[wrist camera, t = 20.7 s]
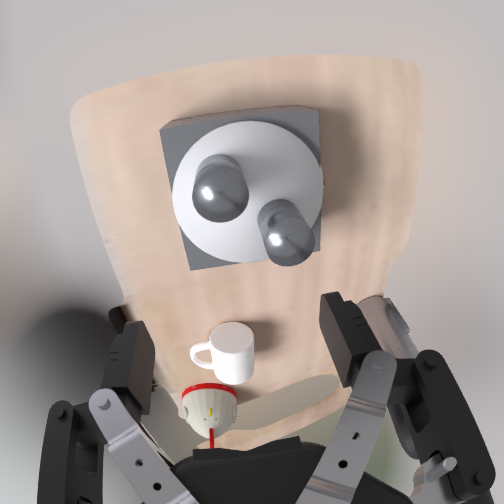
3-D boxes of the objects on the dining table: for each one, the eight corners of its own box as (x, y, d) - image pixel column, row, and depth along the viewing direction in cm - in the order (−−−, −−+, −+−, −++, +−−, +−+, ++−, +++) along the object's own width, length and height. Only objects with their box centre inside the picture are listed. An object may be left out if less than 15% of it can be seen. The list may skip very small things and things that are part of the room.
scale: (304, 105, 36) (328, 111, 28) (308, 222, 45) (328, 253, 38) (169, 121, 35) (157, 131, 27) (193, 239, 44) (190, 275, 37)
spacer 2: (299, 196, 33) (315, 219, 28) (300, 234, 36) (314, 262, 31) (255, 201, 33) (264, 226, 28) (259, 240, 35) (267, 269, 30)
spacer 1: (239, 150, 29) (245, 165, 24) (245, 194, 32) (252, 218, 27) (191, 158, 29) (187, 175, 24) (199, 201, 32) (197, 226, 27)
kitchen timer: (238, 382, 66) (245, 437, 53) (234, 408, 73) (240, 456, 60) (179, 382, 64) (178, 438, 51) (184, 408, 71) (184, 457, 58)
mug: (251, 319, 55) (257, 351, 48) (251, 352, 60) (256, 383, 53) (187, 324, 53) (186, 357, 47) (194, 356, 59) (194, 387, 52)
